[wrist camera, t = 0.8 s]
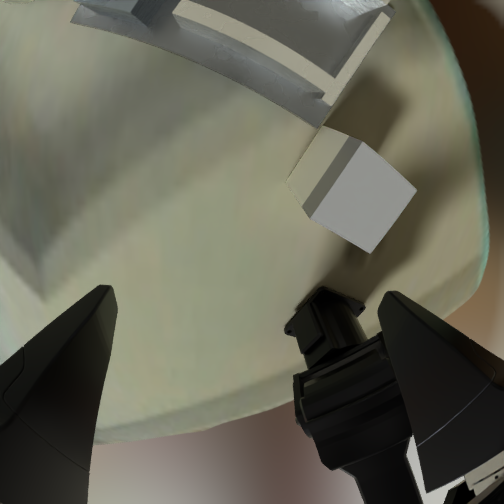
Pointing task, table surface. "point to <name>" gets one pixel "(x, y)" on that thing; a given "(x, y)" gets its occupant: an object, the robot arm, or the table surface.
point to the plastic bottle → (17, 1)
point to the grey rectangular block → (349, 188)
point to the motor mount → (257, 41)
